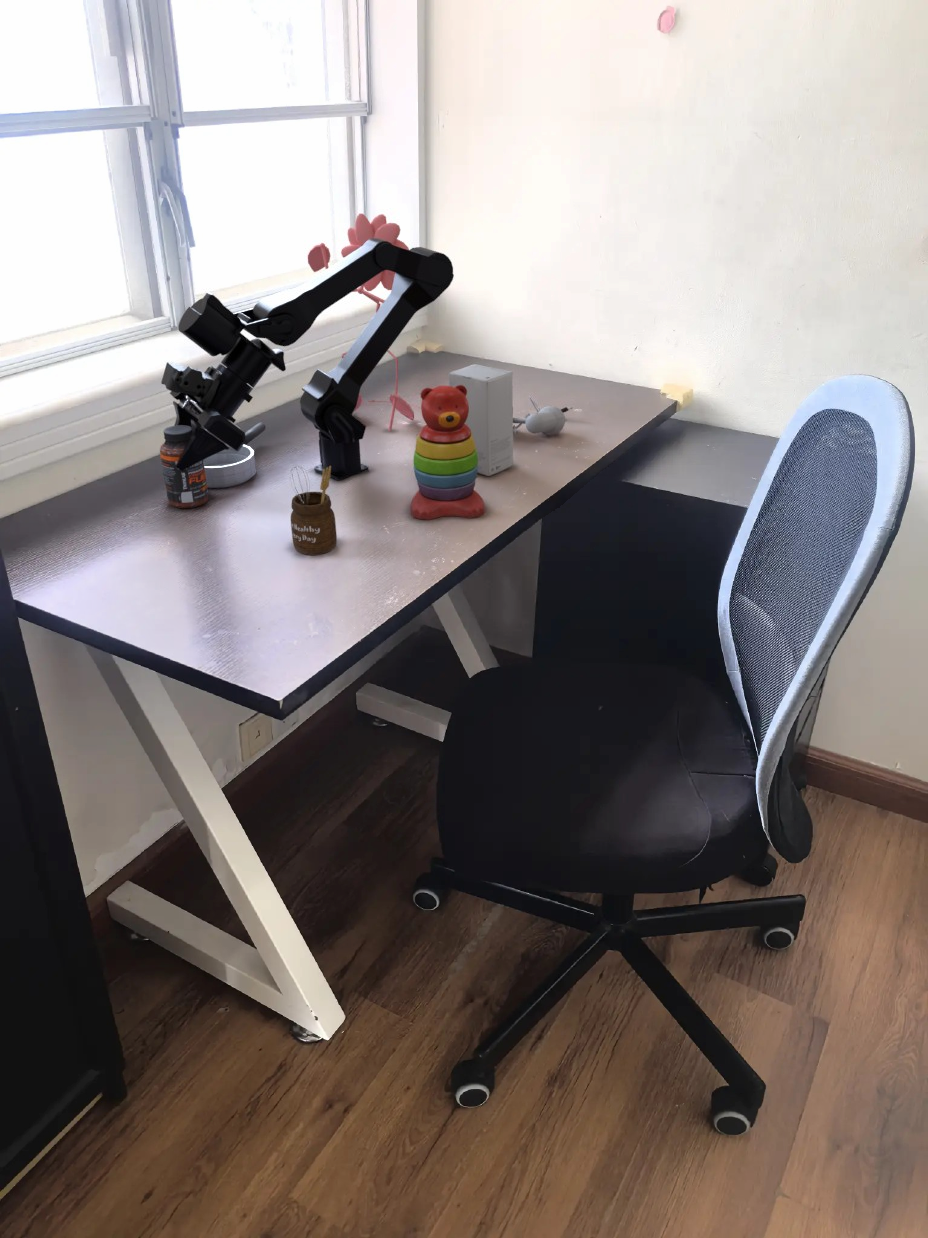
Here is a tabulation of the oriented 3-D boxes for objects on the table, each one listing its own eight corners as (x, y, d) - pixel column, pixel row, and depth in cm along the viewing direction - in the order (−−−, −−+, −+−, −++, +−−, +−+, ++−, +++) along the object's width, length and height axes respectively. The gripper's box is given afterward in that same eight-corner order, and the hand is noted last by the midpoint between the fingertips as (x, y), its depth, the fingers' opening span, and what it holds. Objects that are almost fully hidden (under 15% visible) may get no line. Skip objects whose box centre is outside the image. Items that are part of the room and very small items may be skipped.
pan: (270, 475, 147) (267, 454, 145) (210, 494, 140) (207, 473, 139) (231, 457, 154) (228, 437, 152) (172, 475, 147) (168, 455, 145)
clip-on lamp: (523, 428, 175) (482, 436, 159) (524, 394, 173) (482, 398, 158) (582, 431, 170) (545, 440, 154) (583, 396, 168) (546, 401, 152)
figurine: (430, 439, 161) (425, 223, 143) (304, 419, 170) (285, 214, 153) (466, 413, 173) (465, 211, 155) (347, 396, 182) (334, 203, 165)
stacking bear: (411, 521, 132) (407, 399, 123) (408, 493, 141) (404, 377, 132) (486, 517, 133) (488, 396, 124) (478, 490, 142) (479, 375, 133)
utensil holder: (311, 533, 129) (303, 451, 123) (348, 543, 126) (341, 460, 120) (284, 549, 124) (274, 465, 118) (321, 560, 122) (313, 475, 115)
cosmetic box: (514, 467, 150) (516, 371, 142) (486, 478, 146) (487, 380, 138) (475, 454, 155) (476, 361, 147) (448, 465, 151) (447, 370, 143)
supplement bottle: (198, 511, 135) (186, 437, 129) (161, 508, 136) (147, 434, 130) (216, 495, 140) (205, 423, 134) (180, 492, 141) (167, 421, 135)
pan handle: (238, 453, 150) (236, 443, 149) (229, 452, 150) (227, 443, 150) (267, 430, 160) (266, 421, 159) (259, 429, 160) (258, 420, 159)
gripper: (173, 326, 135) (111, 412, 136) (211, 356, 121) (140, 451, 122) (233, 372, 142) (173, 453, 143) (274, 405, 128) (208, 494, 129)
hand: (172, 461), depth 134 cm, fingers closed on supplement bottle, 6 cm apart
